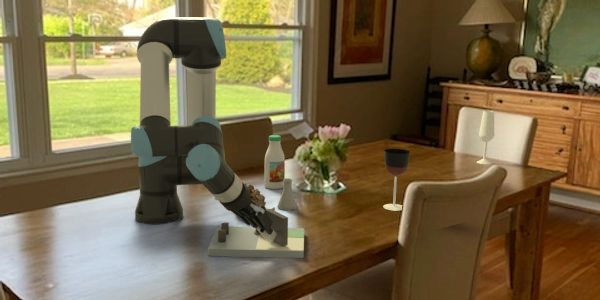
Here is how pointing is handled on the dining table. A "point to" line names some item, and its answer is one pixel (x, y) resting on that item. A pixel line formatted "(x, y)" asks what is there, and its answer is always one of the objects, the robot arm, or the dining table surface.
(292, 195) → the flask
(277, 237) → the gate
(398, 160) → the wineglass
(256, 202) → the pine cone
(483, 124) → the champagne flute
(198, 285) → the dining table surface
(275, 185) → the milk bottle
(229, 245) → the board
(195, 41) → the robot arm
